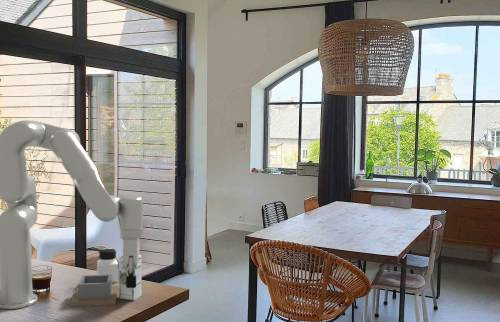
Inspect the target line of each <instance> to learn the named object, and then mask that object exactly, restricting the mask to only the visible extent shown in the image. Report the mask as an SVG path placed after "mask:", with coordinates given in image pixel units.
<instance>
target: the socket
mask: <svg viewBox="0 0 500 322" xmlns="http://www.w3.org/2000/svg"><path fill="white" fill-rule="evenodd" d="M118 295H119V285H118V286H115V285H114V286H113V283H112V274H109V275H97V274H86V275H82V276H81V278H80V279H79V282H78V284H77V289H76V291H75V292H74V294H73V296H72V299H70V307H86V306H87V307H88V306H91V307H92V306H111V305H113V304H114V305H116V304H117V303H116V302H117V299H118Z"/></svg>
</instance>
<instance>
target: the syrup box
mask: <svg viewBox="0 0 500 322" xmlns="http://www.w3.org/2000/svg"><path fill="white" fill-rule="evenodd" d="M133 266H134V262H133ZM128 267H129V265H128ZM133 270H134V269H133ZM135 275H136V287H135V288H126V276H127V267H125V268H123V255H121V256H119V258H118V286H119V291H118V295H119V296H118V298H119V300H126V301H133V302H134V301H136V300H137V299H139V298H140V297H142V295H143V294H142V291H143V290H142V255H141V254H139V261H138V266H137V268H135Z"/></svg>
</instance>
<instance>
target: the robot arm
mask: <svg viewBox="0 0 500 322" xmlns="http://www.w3.org/2000/svg"><path fill="white" fill-rule="evenodd" d="M29 147H37V148H41V149H45V150H48V151H52V152H53V154H54V155H55V156H56V158H57V159H58V160H59V162H60V164H61V166H62V167H64V169H65V170H66V172H67V174H68V175H69V177H70V178H71V179H72V182H73V183H74V186H75V187H76V189H77V190H78V192H79V195H81V198H82V199H83V201H84V203H85V204H86V205H87V207H88V208H89V209H90V211H91V212H92V214H93V215H94V217H96V218H97V220H99V221H101V222H104V223H108V222H112V221H113V220H114V219H116V218H117V217H120V218H119V219H120V224H119V225H120V235H119V236H120V238H121V240H122V242H123V243H122V256H123V268H125V267H127V276H126V288H135V287H136V275H135V268H137V266H138V261H139V255H140V239H142V238H143V237H144V201H143V200H144V199H143V198H142V197H141V196H138V195H129V196H120V195H114V194H113V195H110V194H109V193H108V191H107V190H106V188H105V186H104V184H103V183H102V181H101V178H100V176H99V172H98V169H97V166H96V164H95V163H94V162H93V159H92V158H91V157H90V156H89V154H88V153H87V151H86V150H85V149H84V147H83V145H82V144H81V139H80V135H79V134H78V133H77V132H76V131H74V130H73V129H69V128H64V127H60V126H56V125H54V124H53V125H52V124H49V123H44V122H41V121H37V120H36V121H35V120H28V119H27V120H18V121H16V122H13V123H11V124H9V125H8V126H6V127H5V128H4V129H3V130H2V131H1V132H0V200H2V201H3V202H4V203H7V209H5V210H4V211H2V212H1V214H0V309H3V310H14V309H21V308H26V307H29V306H31V305H34V304H35V303H37V301H38V296H37V294H35V293H33V270H32V267H33V263H32V261H33V260H32V258H33V256H32V241H31V232H30V230H31V229H32V228H33V227H34V225H36V223H37V220H38V199H37V196H38V195H37V185H36V182H35V180H34V178H33V176H32V175H30V173H27V159H26V155H25V150H26V149H27V148H29ZM133 262H134V266H133ZM128 265H129V267H128ZM133 269H134V270H133Z"/></svg>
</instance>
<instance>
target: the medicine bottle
mask: <svg viewBox="0 0 500 322" xmlns="http://www.w3.org/2000/svg"><path fill="white" fill-rule="evenodd" d="M98 257H99V259H98V260H97V261H96V265H97V266H96V273H97V274H96V275H109V274H112V284H114V283H119V261H118V260H117V250H116V248H115V249H114V248H111V247H110V248H109V247H106V248H102V249H100V250H99V256H98Z"/></svg>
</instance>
